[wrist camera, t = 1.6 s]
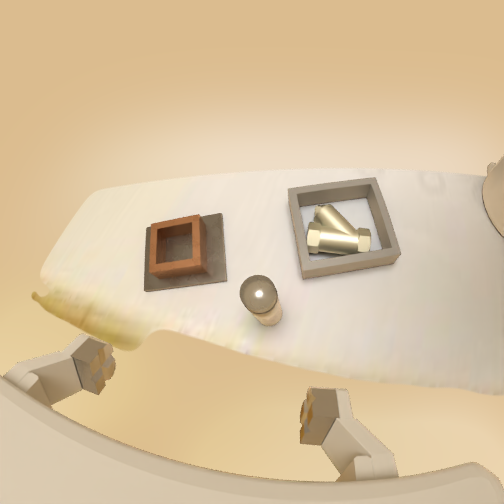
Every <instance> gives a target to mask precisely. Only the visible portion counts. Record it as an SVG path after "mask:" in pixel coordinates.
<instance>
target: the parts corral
mask: <svg viewBox="0 0 504 504" xmlns="http://www.w3.org/2000/svg"><path fill="white" fill-rule="evenodd" d="M366 197H367V200H368V203H369V206H370V209H371V212H372V216H373V219H374V222H375V225H376V229H377V232H378V235H379V239H380V242H381V246H382V250H376V251H370V252H364V253H358V254H352V255H346V256H340V257H334V258H328V259H321V260H315V261H310V258H309V253H308V248H307V242H306V237H305V232H304V227H303V222H302V218H301V213H300V208H299V207H302V206H308V205H315V204H322V203H329V202H336V201H344V200H351V199H359V198H366ZM288 198H289V206H290V211H291V216H292V221H293V227H294V232H295V237H296V243H297V249H298V254H299V260H300V266H301V272H302V278H303V279H307V278H313V277H320V276H326V275H332V274H338V273H343V272H349V271H355V270H361V269H366V268H372V267H377V266H383V265H388V264H393V263H394V262H395V261H396V260H397V258H398V257H399V256H400V255H401V252H400V248H399V245H398V241H397V238H396V235H395V232H394V229H393V225H392V222H391V219H390V216H389V213H388V210H387V207H386V205H385V202H384V199H383V196H382V193H381V191H380V188H379V185H378V183H377V180H376V178H375V177H374V178H365V179H356V180H347V181H339V182H332V183H324V184H317V185H310V186H303V187H296V188H289V189H288Z"/></svg>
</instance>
